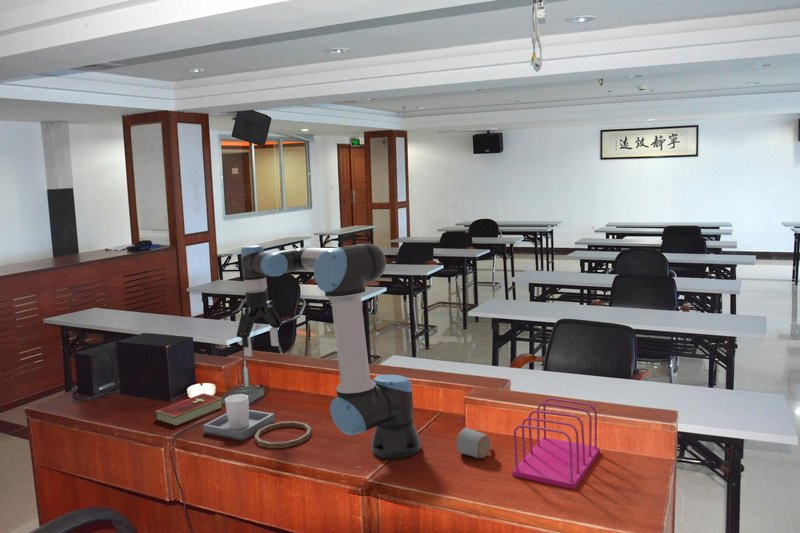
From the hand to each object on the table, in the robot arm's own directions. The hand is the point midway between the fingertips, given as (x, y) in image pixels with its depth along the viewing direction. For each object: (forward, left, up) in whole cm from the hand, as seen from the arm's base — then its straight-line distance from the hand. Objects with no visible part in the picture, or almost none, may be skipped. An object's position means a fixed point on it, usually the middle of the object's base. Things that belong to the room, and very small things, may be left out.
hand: (262, 350), depth 229 cm
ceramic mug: (-32, -71, -26) cm, 82 cm away
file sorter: (-41, -93, -26) cm, 105 cm away
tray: (-5, +9, -26) cm, 28 cm away
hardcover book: (+11, +32, -26) cm, 43 cm away
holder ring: (-14, -8, -26) cm, 30 cm away
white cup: (-5, +9, -25) cm, 27 cm away
